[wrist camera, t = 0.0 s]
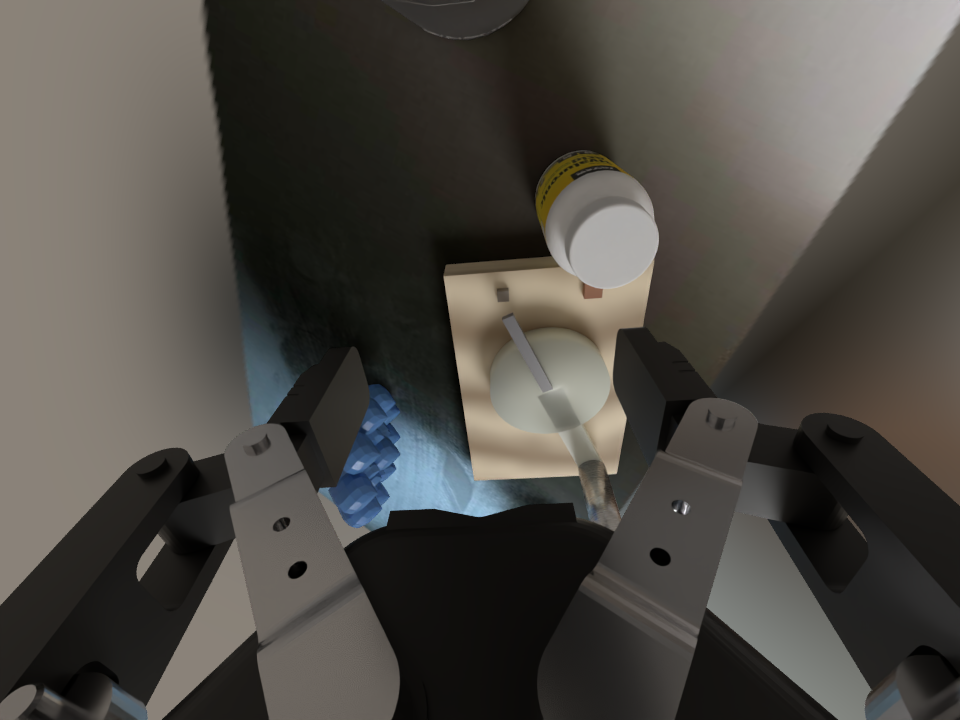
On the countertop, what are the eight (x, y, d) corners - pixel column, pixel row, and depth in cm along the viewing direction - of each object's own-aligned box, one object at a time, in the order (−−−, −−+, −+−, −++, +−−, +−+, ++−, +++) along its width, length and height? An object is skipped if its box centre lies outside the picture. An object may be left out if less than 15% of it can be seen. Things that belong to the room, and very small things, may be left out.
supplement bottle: (598, 129, 24) (656, 158, 16) (630, 209, 26) (692, 268, 18) (518, 180, 25) (533, 231, 17) (555, 251, 28) (583, 322, 20)
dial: (450, 325, 29) (437, 424, 21) (567, 272, 27) (602, 361, 19) (546, 472, 39) (562, 578, 31) (638, 444, 36) (682, 551, 28)
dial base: (445, 264, 29) (442, 280, 27) (644, 248, 28) (657, 263, 26) (474, 464, 42) (474, 485, 39) (611, 457, 41) (618, 478, 39)
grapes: (329, 344, 33) (263, 459, 23) (411, 351, 33) (380, 467, 24) (343, 441, 40) (297, 561, 30) (411, 446, 40) (388, 567, 30)
